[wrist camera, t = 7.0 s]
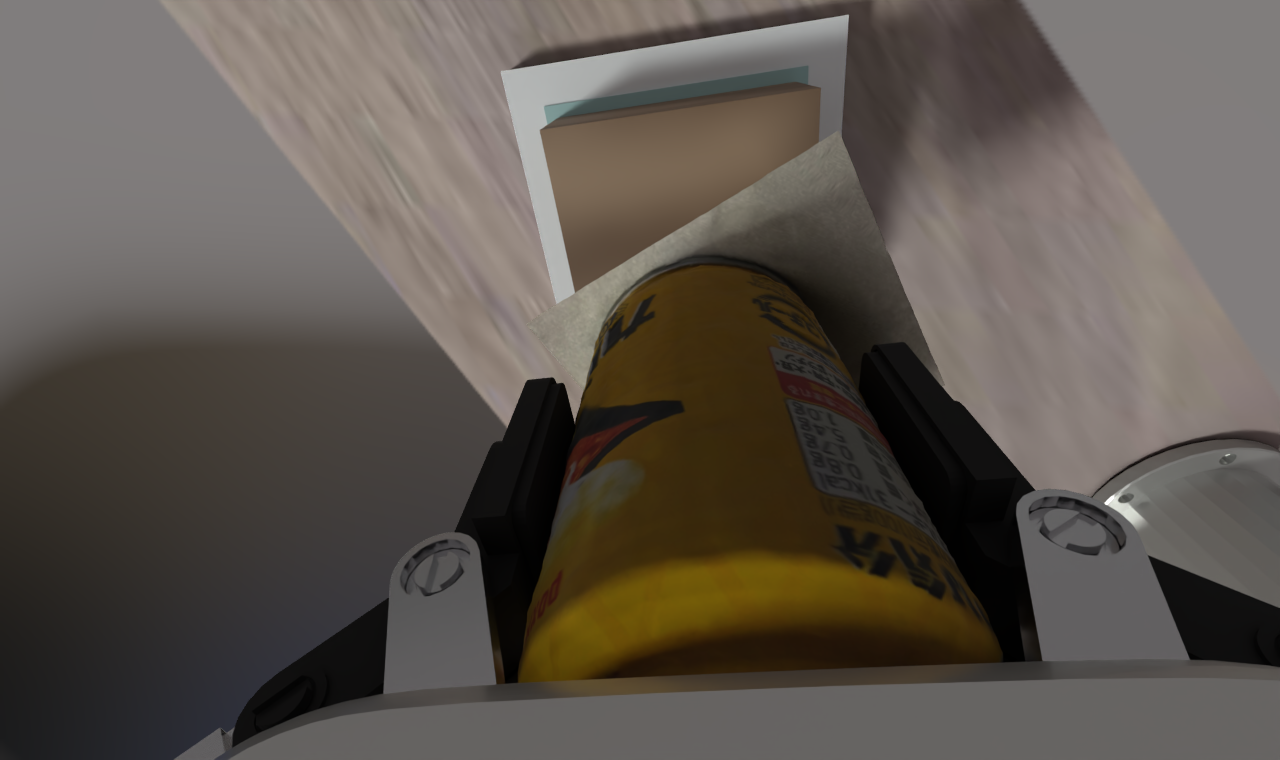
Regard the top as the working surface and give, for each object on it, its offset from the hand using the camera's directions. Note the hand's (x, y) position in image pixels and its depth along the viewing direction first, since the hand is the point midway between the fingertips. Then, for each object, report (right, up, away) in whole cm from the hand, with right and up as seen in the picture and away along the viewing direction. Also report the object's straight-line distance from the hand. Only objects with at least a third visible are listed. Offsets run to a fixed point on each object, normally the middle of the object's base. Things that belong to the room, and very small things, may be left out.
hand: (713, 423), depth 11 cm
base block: (+1, +8, +13) cm, 16 cm away
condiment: (+1, +2, +3) cm, 4 cm away
